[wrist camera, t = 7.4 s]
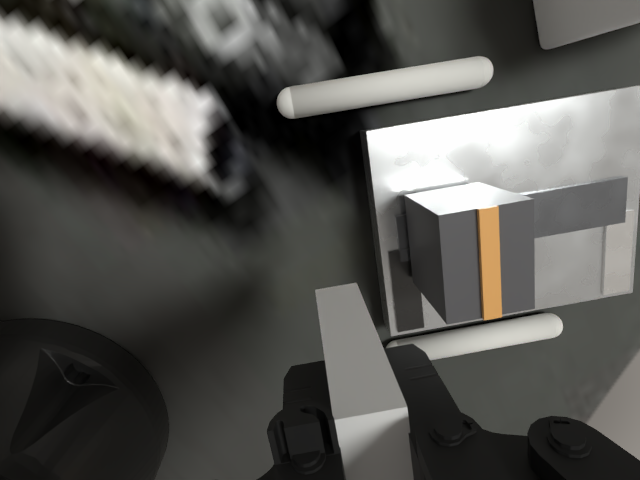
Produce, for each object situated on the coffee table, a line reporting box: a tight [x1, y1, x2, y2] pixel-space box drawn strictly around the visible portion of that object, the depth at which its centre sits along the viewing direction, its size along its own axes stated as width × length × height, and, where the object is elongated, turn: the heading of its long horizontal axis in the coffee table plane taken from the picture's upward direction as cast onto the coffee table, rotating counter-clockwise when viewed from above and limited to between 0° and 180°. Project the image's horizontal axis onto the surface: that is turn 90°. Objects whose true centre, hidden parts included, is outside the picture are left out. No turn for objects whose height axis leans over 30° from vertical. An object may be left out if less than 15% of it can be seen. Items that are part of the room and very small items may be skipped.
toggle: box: [404, 182, 535, 325], centre depth 19 cm, size 4×5×5 cm
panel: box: [360, 85, 640, 336], centre depth 23 cm, size 15×12×2 cm
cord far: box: [386, 313, 563, 360], centre depth 26 cm, size 12×2×2 cm, turn 99°
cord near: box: [277, 56, 493, 119], centre depth 21 cm, size 12×2×2 cm, turn 99°
